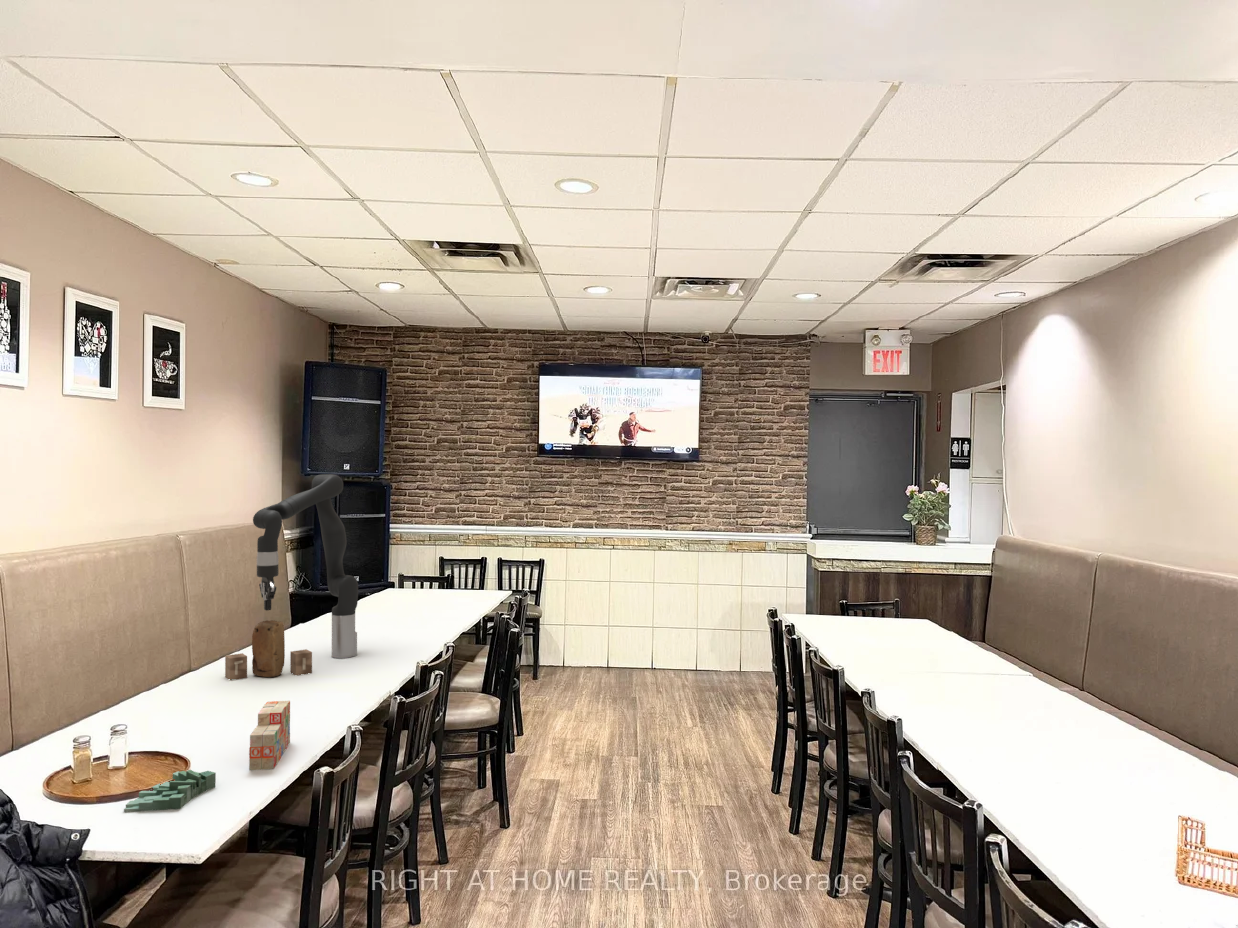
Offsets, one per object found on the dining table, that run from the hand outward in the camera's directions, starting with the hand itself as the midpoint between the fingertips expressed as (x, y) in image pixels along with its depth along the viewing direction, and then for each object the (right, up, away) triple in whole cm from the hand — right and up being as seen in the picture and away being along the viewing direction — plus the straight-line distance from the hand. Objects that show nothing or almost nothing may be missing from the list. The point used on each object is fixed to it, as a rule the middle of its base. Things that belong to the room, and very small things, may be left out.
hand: (267, 609), depth 315 cm
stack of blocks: (+36, -25, -85) cm, 96 cm away
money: (+24, -26, -112) cm, 117 cm away
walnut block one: (+11, -25, +4) cm, 27 cm away
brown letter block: (-10, -24, -3) cm, 27 cm away
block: (0, -25, 0) cm, 25 cm away
